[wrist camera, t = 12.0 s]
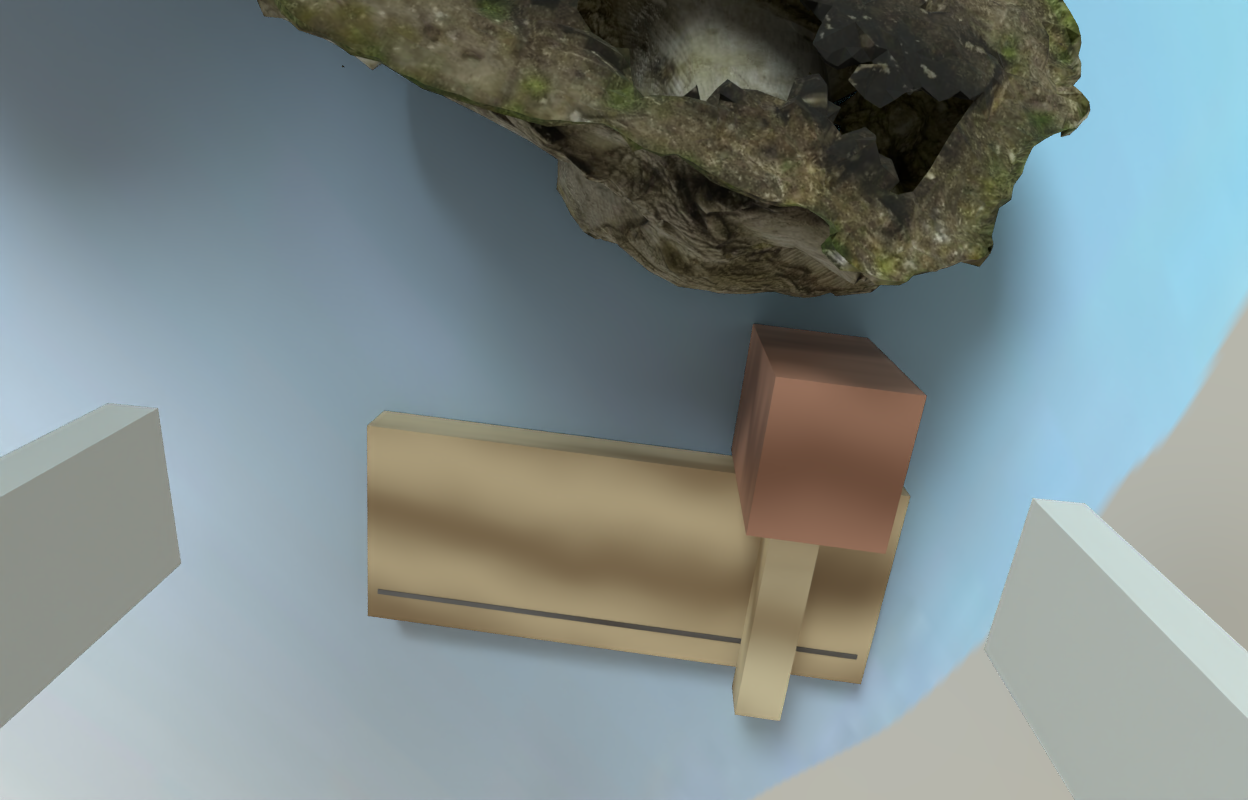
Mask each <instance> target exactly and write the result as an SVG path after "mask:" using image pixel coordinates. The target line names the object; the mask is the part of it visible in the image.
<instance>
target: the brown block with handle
mask: <svg viewBox="0 0 1248 800" xmlns="http://www.w3.org/2000/svg"><path fill="white" fill-rule="evenodd" d="M926 397H927V396H926V395H925V394H924V393H923V392H922V391H921V390H920V389H919V388H918V387H917V386H916V385H915V384H914V383H913V382H912V381H911V380H910V379H909V378H908V377H907V376H906V375H905V374H904V373H903V372H902V371H901V370H900V369H899V368H898V367H897V366H896V365H895V364H894V363H893V362H892V361H891V360H890V359H889V358H888V357H887V356H886V355H885V354H884V353H883V352H882V351H881V350H880V349H879V348H878V347H877V346H876V345H875V344H874V343H873V342H872V341H871V340H870V339H869V338H865V337H857V336H849V335H841V334H833V333H825V332H817V331H809V330H801V329H793V328H785V327H777V326H769V325H761V324H753V327H752V333H751V339H750V344H749V350H748V356H747V362H746V367H745V373H744V379H743V385H742V391H741V396H740V402H739V408H738V414H737V420H736V425H735V431H734V437H733V443H732V448H731V451H732V457H733V463H734V469H735V474H736V480H737V486H738V492H739V497H740V503H741V509H742V515H743V520H744V526H745V532H746V535H748V536H755V537H761V542H760V547H759V552H758V557H757V562H756V567H755V572H754V578H753V583H752V588H751V593H750V598H749V603H748V608H747V613H746V618H745V623H744V629H743V634H742V639H741V644H740V649H739V654H738V659H737V664H736V669H735V675H734V680H733V685H732V690H733V700H734V710H735V715H742V716H749V717H756V718H763V719H770V720H777V721H780V718H781V714H782V709H783V705H784V700H785V696H786V692H787V687H788V683H789V678H790V674H791V669H792V665H793V661H794V656H795V652H796V647H797V643H798V639H799V634H800V630H801V625H802V621H803V616H804V612H805V608H806V603H807V599H808V594H809V590H810V585H811V581H812V577H813V572H814V568H815V563H816V559H817V554H818V550H819V546H820V545H823V546H830V547H837V548H845V549H852V550H860V551H867V552H875V553H882V554H886V550H887V547H888V543H889V539H890V535H891V531H892V527H893V524H894V520H895V516H896V512H897V508H898V504H899V501H900V497H901V493H902V489H903V485H904V481H905V477H906V474H907V470H908V466H909V462H910V458H911V454H912V451H913V447H914V443H915V439H916V435H917V431H918V428H919V424H920V420H921V416H922V412H923V408H924V405H925V401H926Z"/></svg>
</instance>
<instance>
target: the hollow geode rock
mask: <svg viewBox="0 0 1248 800" xmlns="http://www.w3.org/2000/svg"><path fill="white" fill-rule="evenodd" d="M257 2H258V4H259V6H260V8H261V11H262V13H263V15H264V16H265V17H275V18H282V19H284V20H287V21H289V22H291V23H292V24H293V25H294V26H295V27H296V28H297V29H298V30H300V31H303V32H306V33H309V34H312V35H315V36H318V37H321V38H324V39H326V40H327V41H329V42H331V43H333V44H335V45H337V46H339V47H340V48H342V49H343V50H344V51H346V52H347V53H349V54H350V55H353V56H355V57H356V58H358V59H359V60H360V61H362V62H363V63H364V64H365V65H367V66H368V67H369V68H370V69H372V70H373V69H375V68H376V67H378V66H379V65H381V64H384V65H385V66H387V67H389V68H390V69H392V70H393V71H395V72H397V73H398V74H400V75H401V76H403V77H405V78H406V79H408V80H409V81H411V82H413V83H414V84H416V85H417V86H419V87H421V88H422V89H425V90H428V91H431V92H434V93H437V94H440V95H443V96H445V97H446V98H448V99H450V100H452V101H454V102H456V103H458V104H460V105H462V106H464V107H466V108H468V109H470V110H472V111H474V112H476V113H478V114H480V115H482V116H484V117H486V118H487V119H489V120H491V121H493V122H495V123H497V124H499V125H501V126H502V127H504V128H506V129H508V130H510V131H512V132H514V133H516V134H517V135H519V136H521V137H523V138H525V139H527V140H528V141H530V142H532V143H533V144H535V145H536V146H538V147H539V148H541V149H543V150H544V151H546V152H547V153H549V154H550V155H552V156H554V157H555V158H557V159H558V178H557V188H556V189H557V191H558V192H559V193H560V195H561V196H562V198H563V200H564V202H565V204H566V206H567V208H568V210H569V212H570V214H571V215H572V217H573V218H574V220H575V221H576V222H577V224H578V225H579V226H580V228H581V229H582V230H583V232H585V233H586V234H588V235H590V236H591V237H593V238H595V239H602V240H605V241H609V242H612V243H616V244H618V245H619V246H620V247H621V248H622V249H623V250H624V251H626V252H627V253H628V254H629V255H630V256H632V257H633V258H634V259H635V260H636V261H637V262H639V263H640V264H641V265H642V266H643V267H645V268H646V269H647V270H648V271H650V272H652V273H654V274H656V275H657V276H659V277H661V278H663V279H665V280H667V281H669V282H671V283H672V284H674V285H676V286H678V287H685V288H693V289H700V290H707V291H712V292H715V293H728V294H752V293H760V292H778V293H782V294H785V295H789V296H794V297H802V298H810V297H817V296H821V295H824V294H827V293H832V294H834V295H835V296H842V295H851V294H860V293H870V292H872V291H874V290H875V289H876V288H877V287H878V286H880V285H901V284H903V283H905V282H907V281H908V280H909V279H910V278H911V277H912V276H914V275H918V274H923V273H927V272H936V271H938V270H940V269H943V268H947V267H950V266H952V265H955V264H957V263H959V262H964V263H968V264H971V265H975V266H979V267H980V266H981V264H982V263H983V262H984V261H985V259H986V258H987V257H988V256H989V254H991V251H992V247H993V240H992V233H993V229H994V225H995V221H996V217H997V214H998V210H999V208H1000V207H1001V206H1003V205H1004V204H1006V203H1007V202H1008V201H1010V200H1011V197H1012V191H1013V185H1014V184H1015V183H1016V181H1017V180H1018V179H1019V177H1020V176H1021V174H1022V172H1023V169H1024V166H1025V163H1026V161H1027V158H1028V156H1029V154H1030V152H1031V150H1032V148H1033V147H1034V146H1035V145H1037V144H1038V143H1040V142H1041V141H1043V140H1044V139H1046V138H1048V137H1050V136H1051V135H1053V134H1056V133H1059V132H1061V137H1063V136H1067V135H1070V134H1071V133H1072V132H1073V131H1074V130H1075V129H1076V128H1078V126H1079V125H1080V124H1081V123H1082V121H1084V120H1085V119H1086V118H1087V116H1088V114H1089V112H1090V104H1089V101H1088V100H1087V99H1086V97H1085V96H1084V95H1083V94H1082V93H1081V92H1080V91H1079V90H1078V89H1077V88H1076V87H1074V86H1073V85H1074V84H1075V83H1076V82H1077V81H1078V79H1079V78H1080V77H1081V61H1080V59H1079V56H1078V55H1079V51H1080V47H1081V35H1080V31H1079V28H1078V25H1077V23H1076V21H1075V19H1074V18H1073V16H1072V14H1071V12H1070V11H1069V9H1068V8H1067V6H1066V4H1065V3H1064V1H1063V0H257ZM342 67H344V66H343V65H342ZM855 91H857V92H856V94H854V95H853V96H851V97H850V98H849V99H847V100H846V101H845V102H843V103H842V104H840V105H839V106H837V105H836V104H834V103H833V102H835V101H837V100H839V99H841V98H843V97H845V96H847V95H849V94H851V93H853V92H855ZM834 124H837V125H839V126H840V132H839V131H838V129H837V128H836V127H835V125H834Z"/></svg>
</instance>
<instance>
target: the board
mask: <svg viewBox="0 0 1248 800" xmlns="http://www.w3.org/2000/svg"><path fill="white" fill-rule="evenodd" d="M909 499H910V495H909V494H908V492H907V491H906V489H905V488H904V486H903V489H902V493H901V497H900V501H899V504H898V508H897V512H896V516H895V520H894V524H893V527H892V531H891V535H890V539H889V543H888V547H887V550H886V554H882V553H875V552H867V551H860V550H852V549H845V548H837V547H830V546H823V545H820V546H819V550H818V554H817V559H816V563H815V568H814V572H813V577H812V581H811V585H810V590H809V594H808V599H807V603H806V608H805V612H804V616H803V621H802V625H801V630H800V634H799V639H798V643H797V647H796V652H795V656H794V661H793V665H792V669H791V675H799V676H806V677H813V678H820V679H827V680H835V681H842V682H849V683H856V684H861V681H862V677H863V674H864V670H865V666H866V662H867V658H868V655H869V651H870V647H871V643H872V639H873V636H874V632H875V628H876V624H877V621H878V617H879V613H880V609H881V605H882V602H883V598H884V594H885V590H886V586H887V583H888V579H889V575H890V571H891V568H892V564H893V560H894V556H895V552H896V549H897V545H898V541H899V537H900V533H901V530H902V526H903V522H904V518H905V514H906V511H907V507H908V503H909ZM367 507H368V616H373V617H380V618H387V619H394V620H401V621H409V622H416V623H423V624H430V625H437V626H445V627H452V628H459V629H466V630H474V631H481V632H488V633H495V634H502V635H510V636H517V637H524V638H531V639H539V640H546V641H553V642H560V643H567V644H575V645H582V646H589V647H596V648H604V649H611V650H618V651H625V652H632V653H640V654H647V655H654V656H661V657H669V658H676V659H683V660H690V661H697V662H705V663H712V664H719V665H726V666H734V667H736V664H737V659H738V654H739V649H740V644H741V639H742V634H743V629H744V623H745V618H746V613H747V608H748V603H749V598H750V593H751V588H752V583H753V578H754V572H755V567H756V562H757V557H758V552H759V547H760V542H761V537H755V536H748V535H746V532H745V526H744V520H743V515H742V509H741V503H740V497H739V492H738V486H737V480H736V474H735V469H734V463H733V457H732V456H730V455H723V454H715V453H707V452H700V451H692V450H684V449H677V448H669V447H661V446H653V445H646V444H638V443H630V442H623V441H615V440H607V439H599V438H592V437H584V436H576V435H569V434H561V433H553V432H545V431H538V430H530V429H522V428H515V427H507V426H499V425H492V424H484V423H476V422H468V421H461V420H453V419H445V418H438V417H430V416H422V415H414V414H407V413H399V412H391V411H383V412H382V413H381V414H380V415H379V416H378V417H376V418H375V419H374V420H373V421H372V422H371V423H370V424H368V425H367Z"/></svg>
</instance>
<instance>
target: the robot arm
mask: <svg viewBox="0 0 1248 800" xmlns="http://www.w3.org/2000/svg"><path fill="white" fill-rule="evenodd" d="M180 564H181V561H180V554H179V547H178V540H177V534H176V527H175V520H174V513H173V507H172V500H171V493H170V487H169V480H168V473H167V466H166V460H165V453H164V446H163V439H162V433H161V426H160V419H159V412H158V408H150V407H141V406H131V405H121V404H111V403H107V404H105V405H103V406H101V407H99V408H97V409H95V410H93V411H91V412H89V413H87V414H85V415H84V416H82V417H80V418H78V419H76V420H74V421H72V422H70V423H68V424H66V425H64V426H62V427H60V428H58V429H56V430H54V431H52V432H50V433H48V434H46V435H44V436H42V437H40V438H38V439H36V440H34V441H32V442H30V443H28V444H26V445H24V446H22V447H20V448H18V449H16V450H14V451H12V452H10V453H8V454H6V455H4V456H2V457H0V728H1V727H3V726H4V725H5V724H6V723H7V722H8V721H9V720H10V719H11V718H12V717H14V716H15V715H16V714H17V713H18V712H19V711H20V710H21V709H22V708H23V707H25V706H26V705H27V704H28V703H29V702H30V701H31V700H32V699H33V698H34V697H35V696H37V695H38V694H39V693H40V692H41V691H42V690H43V689H44V688H45V687H46V686H48V685H49V684H50V683H51V682H52V681H53V680H54V679H55V678H56V677H57V676H59V675H60V674H61V673H62V672H63V671H64V670H65V669H66V668H67V667H68V666H70V665H71V664H72V663H73V662H74V661H75V660H76V659H77V658H78V657H79V656H80V655H82V654H83V653H84V652H85V651H86V650H87V649H88V648H89V647H90V646H91V645H93V644H94V643H95V642H96V641H97V640H98V639H99V638H100V637H101V636H102V635H104V634H105V633H106V632H107V631H108V630H109V629H110V628H111V627H112V626H113V625H115V624H116V623H117V622H118V621H119V620H120V619H121V618H122V617H123V616H124V615H125V614H127V613H128V612H129V611H130V610H131V609H132V608H133V607H134V606H135V605H136V604H138V603H139V602H140V601H141V600H142V599H143V598H144V597H145V596H146V595H147V594H149V593H150V592H151V591H152V590H153V589H154V588H155V587H156V586H157V585H158V584H159V583H161V582H162V581H163V580H164V579H165V578H166V577H167V576H168V575H169V574H170V573H172V572H173V571H174V570H175V569H176V568H177V567H178V566H179V565H180ZM984 650H985V652H986V654H987V656H988V657H989V659H990V661H991V662H992V664H993V666H994V667H995V669H996V671H997V672H998V674H999V676H1000V677H1001V679H1002V680H1003V682H1004V684H1005V685H1006V687H1007V689H1008V690H1009V692H1010V694H1011V696H1012V697H1013V699H1014V700H1015V702H1016V704H1017V705H1018V707H1019V709H1020V710H1021V712H1022V714H1023V715H1024V717H1025V719H1026V720H1027V722H1028V724H1029V725H1030V727H1031V729H1032V730H1033V732H1034V734H1035V735H1036V737H1037V739H1038V740H1039V742H1040V744H1041V745H1042V747H1043V749H1044V750H1045V752H1046V754H1047V755H1048V757H1049V759H1050V760H1051V762H1052V763H1053V765H1054V767H1055V769H1056V770H1057V772H1058V774H1059V775H1060V777H1061V778H1062V780H1063V782H1064V783H1065V785H1066V787H1067V788H1068V790H1069V792H1070V793H1071V795H1072V797H1073V798H1074V800H1248V652H1247V651H1246V650H1245V649H1244V648H1243V647H1242V646H1241V645H1240V644H1239V643H1238V642H1236V641H1235V640H1234V639H1233V638H1232V637H1231V636H1230V635H1229V634H1228V633H1227V632H1225V631H1224V630H1223V629H1222V628H1221V627H1220V626H1219V625H1218V624H1217V623H1216V622H1215V621H1213V620H1212V619H1211V618H1210V617H1209V616H1208V615H1207V614H1206V613H1205V612H1203V611H1202V610H1201V609H1200V608H1199V607H1198V606H1197V605H1196V604H1195V603H1193V601H1191V600H1190V599H1189V598H1188V597H1187V596H1186V595H1185V594H1184V593H1183V592H1181V591H1180V590H1179V589H1178V588H1177V587H1176V586H1175V585H1174V584H1173V583H1172V582H1170V581H1169V580H1168V579H1167V578H1166V577H1165V576H1164V575H1163V574H1162V573H1161V572H1159V570H1157V569H1156V568H1155V567H1154V566H1153V565H1152V564H1151V563H1150V562H1148V561H1147V560H1146V559H1145V558H1144V557H1143V556H1142V555H1141V554H1140V553H1138V552H1137V551H1136V550H1135V549H1134V548H1133V547H1132V546H1131V545H1130V544H1129V543H1128V542H1127V541H1126V540H1124V539H1123V538H1122V537H1121V536H1120V535H1119V534H1118V533H1116V532H1115V530H1113V529H1112V528H1111V527H1110V526H1109V525H1108V524H1107V523H1106V522H1105V521H1103V520H1102V519H1101V518H1100V517H1099V516H1098V515H1097V514H1096V513H1095V512H1094V511H1093V510H1092V509H1090V508H1089V507H1088V506H1087V505H1086V504H1085V503H1075V502H1065V501H1055V500H1046V499H1036V498H1033V499H1032V502H1031V505H1030V508H1029V511H1028V514H1027V517H1026V520H1025V524H1024V527H1023V530H1022V533H1021V536H1020V539H1019V542H1018V545H1017V548H1016V551H1015V554H1014V558H1013V561H1012V564H1011V567H1010V570H1009V573H1008V576H1007V579H1006V582H1005V585H1004V589H1003V592H1002V595H1001V598H1000V601H999V604H998V607H997V610H996V613H995V616H994V620H993V623H992V626H991V629H990V632H989V635H988V638H987V641H986V644H985V647H984Z"/></svg>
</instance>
